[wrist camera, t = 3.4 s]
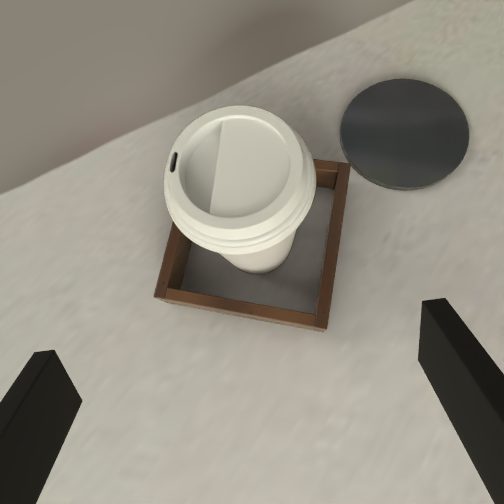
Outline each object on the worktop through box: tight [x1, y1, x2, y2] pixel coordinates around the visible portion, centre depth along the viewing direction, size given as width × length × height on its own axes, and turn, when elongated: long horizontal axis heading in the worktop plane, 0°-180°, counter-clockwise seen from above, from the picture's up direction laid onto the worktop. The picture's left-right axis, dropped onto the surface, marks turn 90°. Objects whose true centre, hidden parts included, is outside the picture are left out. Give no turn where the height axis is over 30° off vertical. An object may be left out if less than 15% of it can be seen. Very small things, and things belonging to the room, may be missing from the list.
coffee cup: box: [164, 105, 316, 274], centre depth 29 cm, size 10×10×15 cm
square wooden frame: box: [154, 159, 351, 332], centre depth 35 cm, size 15×15×4 cm
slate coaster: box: [340, 79, 469, 191], centre depth 37 cm, size 12×12×1 cm
